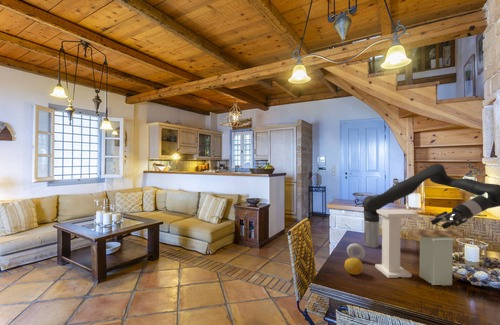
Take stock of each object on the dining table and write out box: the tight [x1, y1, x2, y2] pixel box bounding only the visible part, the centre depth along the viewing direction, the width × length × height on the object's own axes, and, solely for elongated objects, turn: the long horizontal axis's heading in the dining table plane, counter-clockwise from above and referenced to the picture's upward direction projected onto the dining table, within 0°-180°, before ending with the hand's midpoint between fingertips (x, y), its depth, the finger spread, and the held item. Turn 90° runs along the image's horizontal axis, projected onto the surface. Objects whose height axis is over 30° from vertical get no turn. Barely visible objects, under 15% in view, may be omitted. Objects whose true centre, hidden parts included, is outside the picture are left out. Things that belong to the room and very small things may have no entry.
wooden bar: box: [410, 228, 463, 238], centre depth 119 cm, size 24×2×3 cm, turn 93°
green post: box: [419, 237, 456, 286], centre depth 119 cm, size 10×10×22 cm
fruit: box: [344, 257, 364, 276], centre depth 127 cm, size 9×8×8 cm
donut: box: [346, 242, 366, 261], centre depth 143 cm, size 10×4×10 cm, turn 62°
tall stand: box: [374, 208, 420, 279], centre depth 128 cm, size 16×12×32 cm
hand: (437, 225), depth 126 cm, fingers open, 8 cm apart
